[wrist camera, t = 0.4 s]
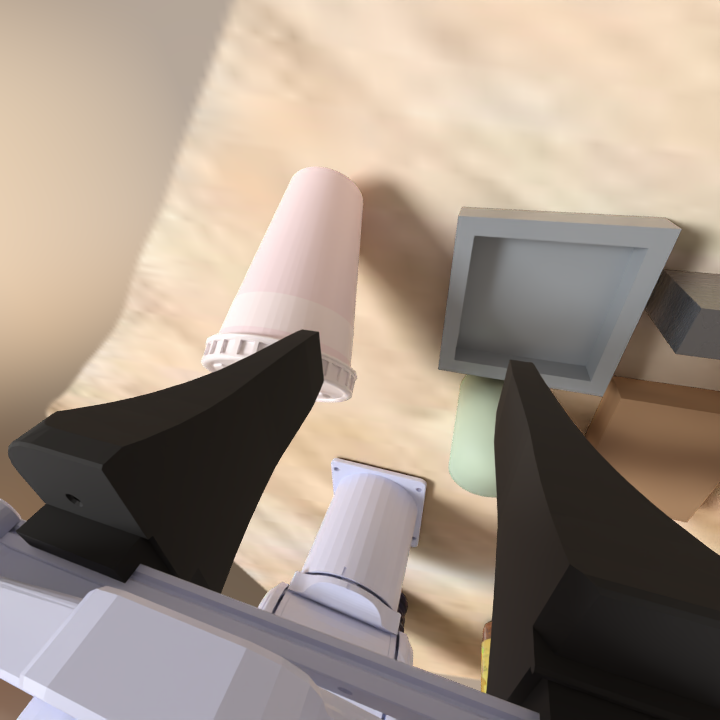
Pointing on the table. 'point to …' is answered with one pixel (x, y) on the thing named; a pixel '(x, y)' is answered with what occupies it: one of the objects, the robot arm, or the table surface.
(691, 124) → the table surface
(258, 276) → the smoothie
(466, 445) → the sage dowel
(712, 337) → the post
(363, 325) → the table surface
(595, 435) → the tan rectangular block
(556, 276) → the slate tray
